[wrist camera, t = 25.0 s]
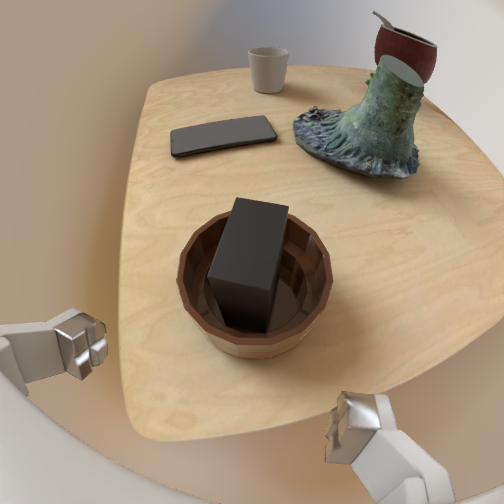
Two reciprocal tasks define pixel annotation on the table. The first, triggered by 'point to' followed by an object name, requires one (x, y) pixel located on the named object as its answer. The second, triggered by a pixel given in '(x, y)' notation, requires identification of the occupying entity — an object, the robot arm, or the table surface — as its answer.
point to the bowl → (285, 300)
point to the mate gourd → (406, 49)
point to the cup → (268, 68)
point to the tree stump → (369, 126)
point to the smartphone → (221, 135)
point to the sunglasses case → (249, 263)
